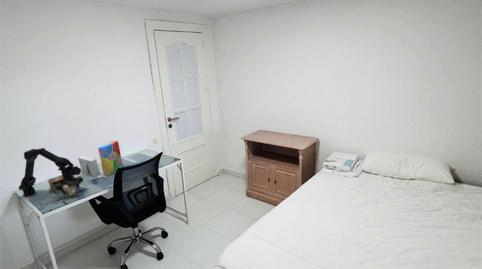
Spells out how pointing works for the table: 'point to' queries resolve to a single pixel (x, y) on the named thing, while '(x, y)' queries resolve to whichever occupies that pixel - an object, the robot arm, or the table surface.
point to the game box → (110, 157)
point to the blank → (69, 190)
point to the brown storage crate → (56, 181)
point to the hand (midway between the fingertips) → (71, 192)
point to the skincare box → (89, 166)
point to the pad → (53, 199)
